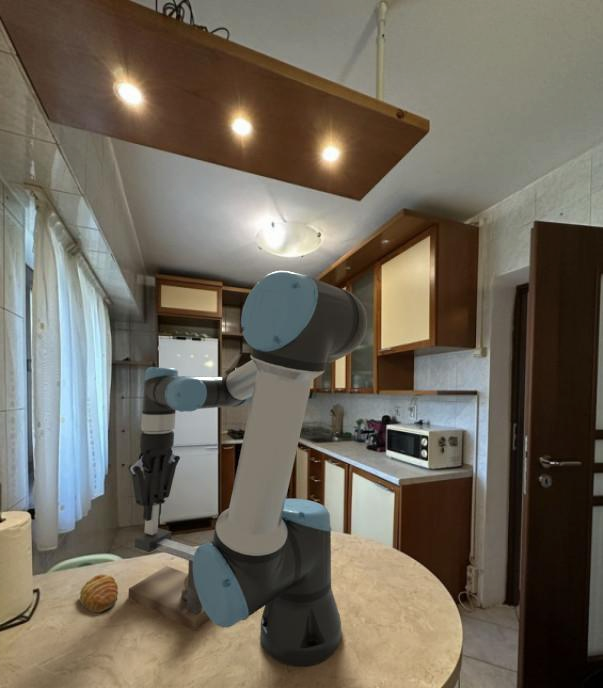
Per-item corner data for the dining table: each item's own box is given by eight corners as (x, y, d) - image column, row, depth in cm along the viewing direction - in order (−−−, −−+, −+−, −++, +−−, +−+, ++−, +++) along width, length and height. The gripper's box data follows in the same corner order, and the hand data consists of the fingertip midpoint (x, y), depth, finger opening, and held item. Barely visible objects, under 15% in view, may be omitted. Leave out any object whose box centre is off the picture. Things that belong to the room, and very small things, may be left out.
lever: (221, 559, 70) (222, 546, 71) (201, 574, 65) (201, 559, 65) (156, 539, 80) (157, 527, 80) (134, 550, 75) (135, 538, 75)
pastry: (125, 604, 70) (126, 584, 70) (89, 621, 65) (90, 600, 65) (110, 585, 76) (111, 568, 76) (76, 600, 71) (77, 581, 71)
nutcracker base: (229, 599, 71) (231, 543, 72) (195, 630, 62) (197, 565, 63) (166, 574, 80) (168, 525, 81) (128, 598, 71) (131, 542, 72)
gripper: (169, 426, 87) (163, 518, 85) (122, 433, 75) (114, 540, 73) (189, 428, 83) (183, 525, 81) (144, 436, 72) (135, 549, 70)
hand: (150, 532), depth 77 cm, fingers closed
